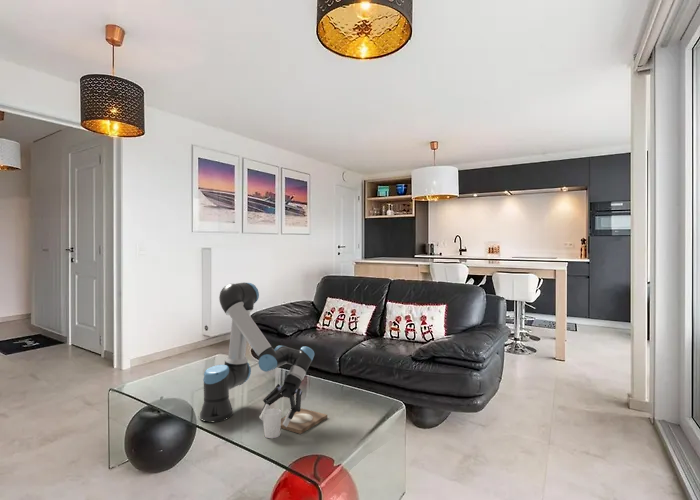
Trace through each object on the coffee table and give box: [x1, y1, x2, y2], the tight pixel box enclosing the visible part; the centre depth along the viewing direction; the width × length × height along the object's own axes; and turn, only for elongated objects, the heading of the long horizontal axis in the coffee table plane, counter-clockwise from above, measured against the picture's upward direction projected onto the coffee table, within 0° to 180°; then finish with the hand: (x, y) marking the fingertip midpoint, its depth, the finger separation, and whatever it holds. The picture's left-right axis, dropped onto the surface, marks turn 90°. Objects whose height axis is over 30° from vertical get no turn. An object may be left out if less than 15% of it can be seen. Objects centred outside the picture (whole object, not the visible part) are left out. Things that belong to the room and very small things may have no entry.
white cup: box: [262, 407, 282, 439], centre depth 165 cm, size 8×8×10 cm
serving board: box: [280, 407, 328, 435], centre depth 178 cm, size 20×16×2 cm
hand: (272, 422), depth 164 cm, fingers open, 13 cm apart
